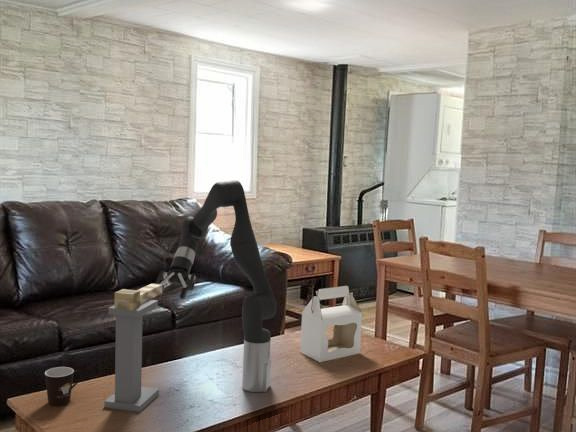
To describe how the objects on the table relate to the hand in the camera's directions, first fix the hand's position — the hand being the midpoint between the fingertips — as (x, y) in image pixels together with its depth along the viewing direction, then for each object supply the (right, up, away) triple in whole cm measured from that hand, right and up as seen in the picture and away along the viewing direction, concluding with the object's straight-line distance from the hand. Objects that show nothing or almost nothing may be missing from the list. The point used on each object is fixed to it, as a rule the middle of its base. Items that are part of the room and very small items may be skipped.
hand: (170, 297), depth 214 cm
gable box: (+61, -28, +30) cm, 73 cm away
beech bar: (-5, +2, -23) cm, 24 cm away
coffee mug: (-28, -30, -28) cm, 49 cm away
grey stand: (-7, -30, -25) cm, 40 cm away
